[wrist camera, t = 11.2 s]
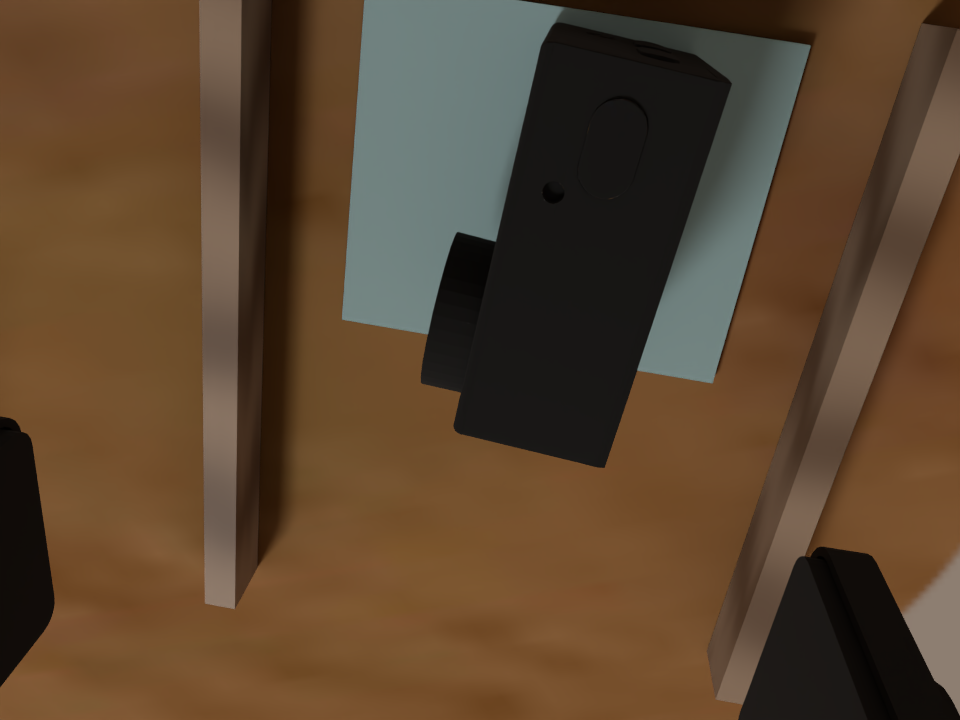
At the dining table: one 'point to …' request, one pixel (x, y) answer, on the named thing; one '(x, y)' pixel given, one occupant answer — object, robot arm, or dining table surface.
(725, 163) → the front mat
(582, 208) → the digital camera
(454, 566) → the dining table surface
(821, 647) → the robot arm
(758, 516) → the twin metal rails
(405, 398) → the dining table surface
